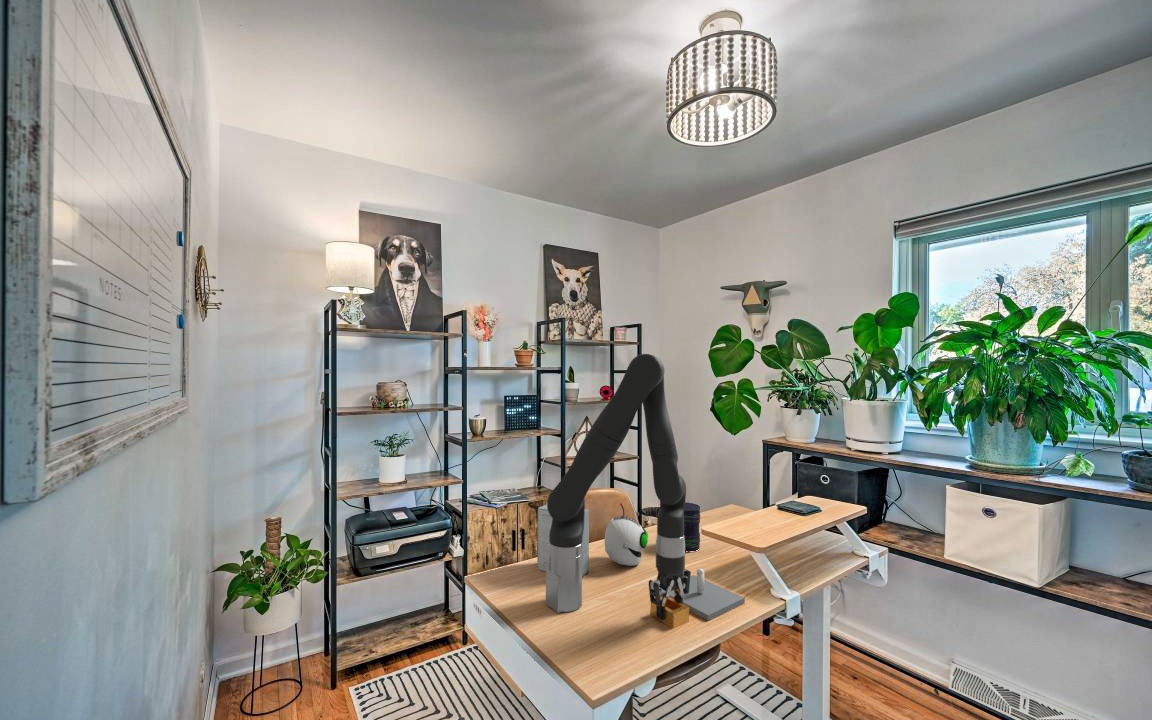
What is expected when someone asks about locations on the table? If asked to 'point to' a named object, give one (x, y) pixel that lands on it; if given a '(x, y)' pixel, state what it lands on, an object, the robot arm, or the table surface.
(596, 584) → the table surface
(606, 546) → the robot head
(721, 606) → the plate
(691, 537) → the storage jar
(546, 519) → the hard drive box
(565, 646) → the table surface
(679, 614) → the open wooden box
